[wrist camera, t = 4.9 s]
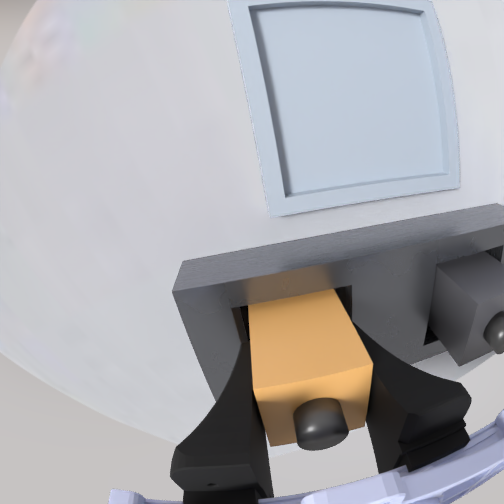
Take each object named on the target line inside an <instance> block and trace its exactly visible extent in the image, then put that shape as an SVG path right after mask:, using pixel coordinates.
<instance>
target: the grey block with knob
mask: <svg viewBox="0 0 504 504" xmlns="http://www.w3.org/2000/svg"><path fill="white" fill-rule="evenodd" d="M427 325H428V326H429V327H430V328H431V330H432V331H433V332H434V334H435V335H436V336H437V338H438V339H439V340H440V341H441V343H442V344H443V345H444V347H445V348H446V349H447V351H448V352H449V353H450V355H451V356H452V358H453V359H454V360H455V362H456V363H457V364H458V366H462V365H464V364H466V363H468V362H470V361H472V360H474V359H477V358H479V357H481V356H483V355H485V354H487V353H489V352H491V351H493V350H494V351H495V352H496V353H497V354H501V353H503V352H504V264H502V263H501V262H499V261H498V260H497V259H495V258H494V257H492V256H491V255H490V254H488V253H487V252H485V251H481V252H478V253H475V254H471V255H468V256H464V257H460V258H457V259H453V260H450V261H446V262H442V263H438V264H436V271H435V280H434V287H433V295H432V301H431V307H430V313H429V319H428V324H427Z"/></svg>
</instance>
